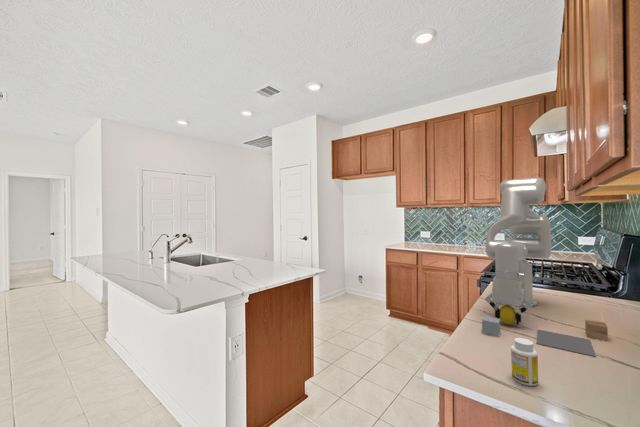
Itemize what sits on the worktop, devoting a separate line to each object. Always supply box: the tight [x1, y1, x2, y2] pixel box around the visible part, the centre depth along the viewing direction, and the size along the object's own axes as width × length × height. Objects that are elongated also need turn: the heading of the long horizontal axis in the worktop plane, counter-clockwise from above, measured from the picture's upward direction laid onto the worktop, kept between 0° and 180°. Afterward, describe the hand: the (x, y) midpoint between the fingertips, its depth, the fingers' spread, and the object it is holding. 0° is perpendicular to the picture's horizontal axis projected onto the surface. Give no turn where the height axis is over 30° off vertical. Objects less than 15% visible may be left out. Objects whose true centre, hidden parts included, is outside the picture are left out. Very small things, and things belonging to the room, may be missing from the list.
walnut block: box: [584, 318, 609, 342], centre depth 96 cm, size 5×5×5 cm
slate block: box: [481, 315, 501, 338], centre depth 100 cm, size 5×5×5 cm
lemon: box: [499, 304, 517, 326], centre depth 107 cm, size 6×6×8 cm
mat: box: [536, 329, 597, 358], centre depth 92 cm, size 14×14×1 cm
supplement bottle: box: [510, 337, 539, 387], centre depth 72 cm, size 6×6×10 cm
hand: (507, 321), depth 107 cm, fingers closed on lemon, 5 cm apart
